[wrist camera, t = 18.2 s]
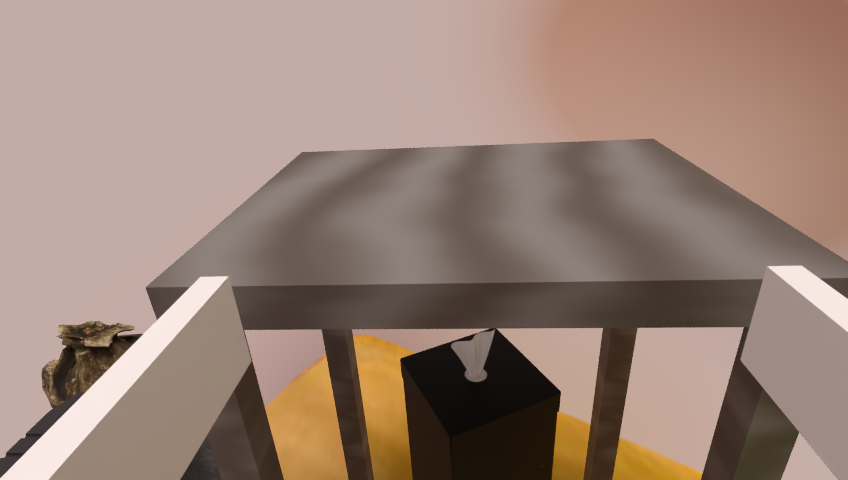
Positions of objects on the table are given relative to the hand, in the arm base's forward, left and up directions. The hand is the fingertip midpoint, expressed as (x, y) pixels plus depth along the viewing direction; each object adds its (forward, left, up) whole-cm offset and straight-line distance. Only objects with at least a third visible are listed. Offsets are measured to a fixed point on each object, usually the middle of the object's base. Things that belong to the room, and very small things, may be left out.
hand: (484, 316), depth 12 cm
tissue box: (-3, -14, -40) cm, 42 cm away
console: (-3, -15, -40) cm, 42 cm away
